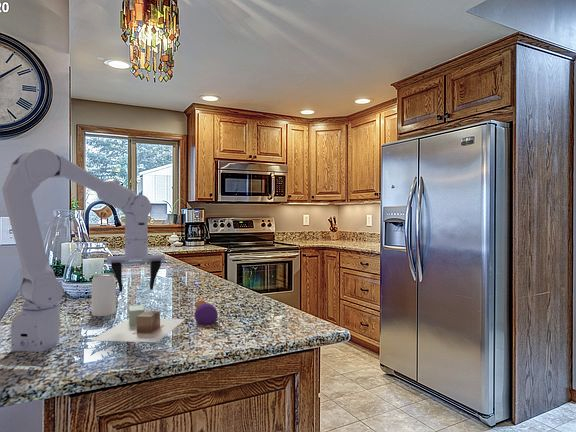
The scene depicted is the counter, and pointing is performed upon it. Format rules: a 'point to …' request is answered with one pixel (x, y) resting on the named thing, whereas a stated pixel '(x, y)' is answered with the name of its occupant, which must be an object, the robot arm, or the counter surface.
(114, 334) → the baseplate
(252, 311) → the counter surface
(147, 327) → the walnut brick
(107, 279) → the can
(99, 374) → the counter surface
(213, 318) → the kendama
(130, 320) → the sage brick
